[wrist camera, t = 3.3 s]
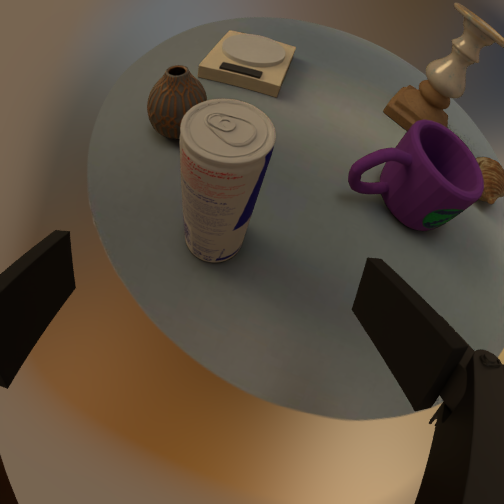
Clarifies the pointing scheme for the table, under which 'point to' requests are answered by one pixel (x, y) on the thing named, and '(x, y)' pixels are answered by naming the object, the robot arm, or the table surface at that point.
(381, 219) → the table surface
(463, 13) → the candle holder
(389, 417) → the table surface
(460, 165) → the mug
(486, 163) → the seashell
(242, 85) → the kitchen scale
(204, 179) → the beverage can
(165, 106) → the vase
